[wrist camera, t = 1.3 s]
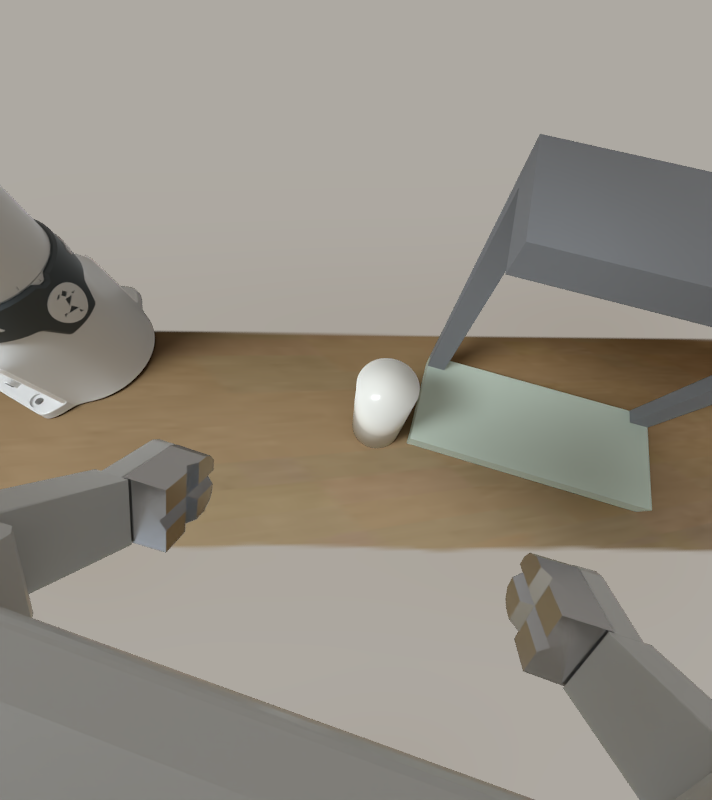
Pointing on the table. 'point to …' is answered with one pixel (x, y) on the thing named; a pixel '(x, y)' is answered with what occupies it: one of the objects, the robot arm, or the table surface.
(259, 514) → the table surface
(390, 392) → the white cylinder
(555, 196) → the grey frame
